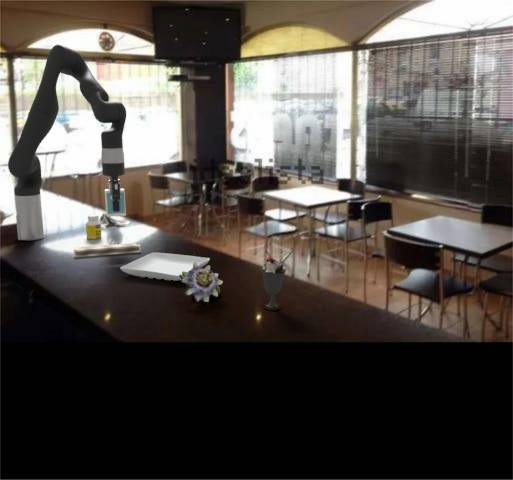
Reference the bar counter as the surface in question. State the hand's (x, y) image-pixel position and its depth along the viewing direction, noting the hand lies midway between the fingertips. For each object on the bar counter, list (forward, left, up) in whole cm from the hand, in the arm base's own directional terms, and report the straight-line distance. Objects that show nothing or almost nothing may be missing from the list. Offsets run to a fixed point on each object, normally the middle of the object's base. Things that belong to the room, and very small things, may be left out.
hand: (115, 209), depth 200 cm
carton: (0, 0, -2) cm, 2 cm away
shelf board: (-4, -1, -15) cm, 15 cm away
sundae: (+32, -72, -15) cm, 80 cm away
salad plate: (+12, -31, -15) cm, 37 cm away
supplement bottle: (-7, +19, -15) cm, 25 cm away
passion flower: (+16, -59, -15) cm, 63 cm away
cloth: (0, +50, -16) cm, 52 cm away
